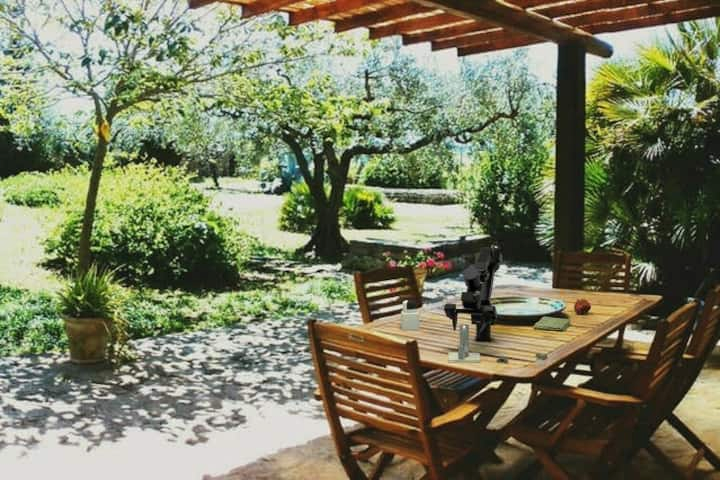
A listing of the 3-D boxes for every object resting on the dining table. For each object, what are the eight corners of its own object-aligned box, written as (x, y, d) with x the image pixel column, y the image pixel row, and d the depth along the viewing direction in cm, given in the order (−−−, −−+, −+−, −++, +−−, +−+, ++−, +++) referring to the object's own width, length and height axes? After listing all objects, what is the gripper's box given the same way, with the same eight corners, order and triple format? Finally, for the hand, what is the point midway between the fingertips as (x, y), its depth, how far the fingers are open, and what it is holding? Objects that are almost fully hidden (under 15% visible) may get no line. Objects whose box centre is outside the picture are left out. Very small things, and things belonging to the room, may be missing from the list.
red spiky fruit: (593, 319, 330) (585, 303, 337) (595, 309, 325) (587, 293, 332) (577, 322, 330) (570, 305, 337) (579, 311, 325) (572, 295, 332)
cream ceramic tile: (448, 354, 262) (448, 352, 262) (479, 354, 261) (479, 352, 261) (448, 362, 252) (448, 359, 252) (480, 362, 250) (480, 360, 250)
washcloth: (532, 330, 301) (532, 323, 301) (542, 322, 317) (542, 315, 317) (564, 333, 295) (564, 325, 295) (572, 325, 311) (572, 317, 311)
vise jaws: (494, 360, 253) (494, 356, 253) (542, 356, 257) (542, 352, 257) (500, 363, 248) (500, 360, 248) (549, 359, 253) (549, 356, 252)
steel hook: (461, 354, 258) (460, 324, 258) (469, 355, 257) (469, 324, 256) (456, 359, 252) (455, 328, 251) (465, 360, 251) (465, 328, 250)
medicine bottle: (417, 326, 312) (417, 299, 311) (419, 330, 305) (419, 301, 304) (401, 327, 312) (400, 299, 311) (402, 330, 305) (402, 302, 304)
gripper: (444, 281, 266) (436, 317, 257) (495, 283, 259) (489, 320, 250) (450, 299, 274) (443, 334, 265) (499, 301, 267) (494, 337, 258)
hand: (466, 331), depth 259 cm, fingers open, 9 cm apart
